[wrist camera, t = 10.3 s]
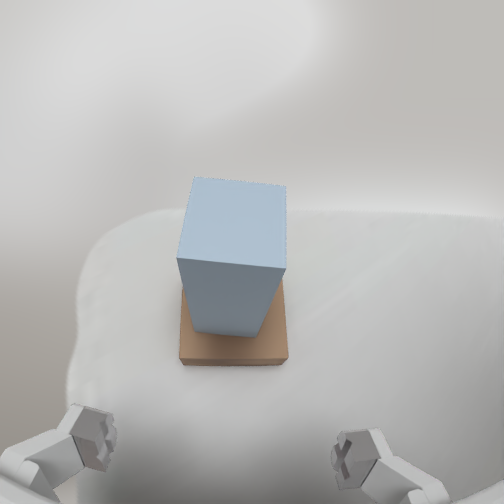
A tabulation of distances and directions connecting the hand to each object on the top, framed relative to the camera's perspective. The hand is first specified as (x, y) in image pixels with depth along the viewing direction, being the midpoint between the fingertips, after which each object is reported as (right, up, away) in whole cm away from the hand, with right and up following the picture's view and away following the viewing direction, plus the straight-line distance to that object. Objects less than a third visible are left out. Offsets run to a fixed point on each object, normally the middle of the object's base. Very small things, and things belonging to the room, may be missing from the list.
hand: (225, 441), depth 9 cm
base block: (-1, +1, +14) cm, 14 cm away
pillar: (-1, +3, +12) cm, 12 cm away
